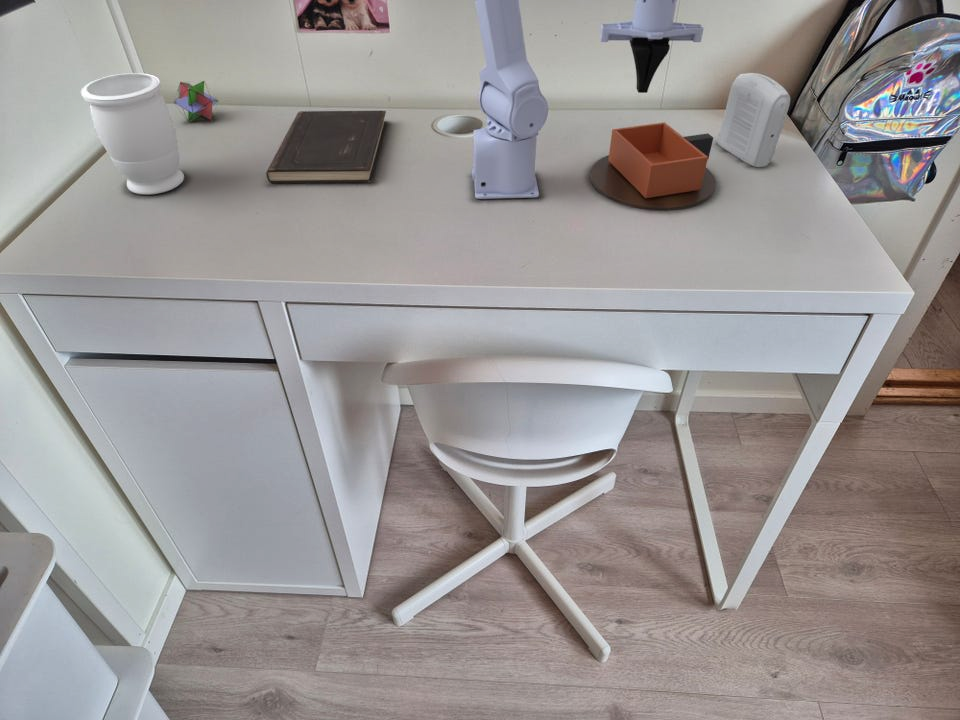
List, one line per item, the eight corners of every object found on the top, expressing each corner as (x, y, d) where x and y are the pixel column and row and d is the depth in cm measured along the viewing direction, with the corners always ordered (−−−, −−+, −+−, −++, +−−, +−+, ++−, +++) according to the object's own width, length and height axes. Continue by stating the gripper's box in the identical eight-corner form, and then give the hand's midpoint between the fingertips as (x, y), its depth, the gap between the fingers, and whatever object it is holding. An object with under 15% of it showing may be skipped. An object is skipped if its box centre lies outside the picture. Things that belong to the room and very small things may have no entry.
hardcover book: (387, 123, 118) (385, 110, 117) (371, 183, 101) (369, 169, 100) (298, 123, 118) (296, 111, 117) (268, 183, 101) (264, 169, 100)
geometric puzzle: (233, 104, 120) (202, 64, 117) (208, 118, 115) (175, 77, 112) (214, 123, 124) (184, 85, 121) (190, 137, 120) (157, 98, 117)
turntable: (601, 212, 94) (601, 208, 94) (581, 154, 108) (581, 150, 108) (732, 209, 94) (733, 205, 94) (695, 151, 108) (696, 148, 108)
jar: (204, 182, 102) (173, 83, 92) (140, 206, 96) (99, 104, 86) (170, 161, 107) (137, 66, 97) (108, 183, 102) (67, 85, 92)
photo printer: (775, 165, 105) (800, 86, 96) (753, 170, 103) (777, 90, 95) (733, 140, 112) (753, 64, 103) (712, 144, 110) (731, 68, 102)
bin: (607, 160, 104) (611, 128, 101) (682, 149, 107) (688, 118, 104) (645, 198, 95) (651, 165, 92) (726, 185, 98) (734, 153, 94)
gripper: (608, -1, 89) (597, 99, 98) (716, -1, 89) (694, 100, 98) (603, -14, 94) (592, 83, 104) (704, -14, 94) (685, 83, 103)
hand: (641, 90), depth 101 cm, fingers closed
